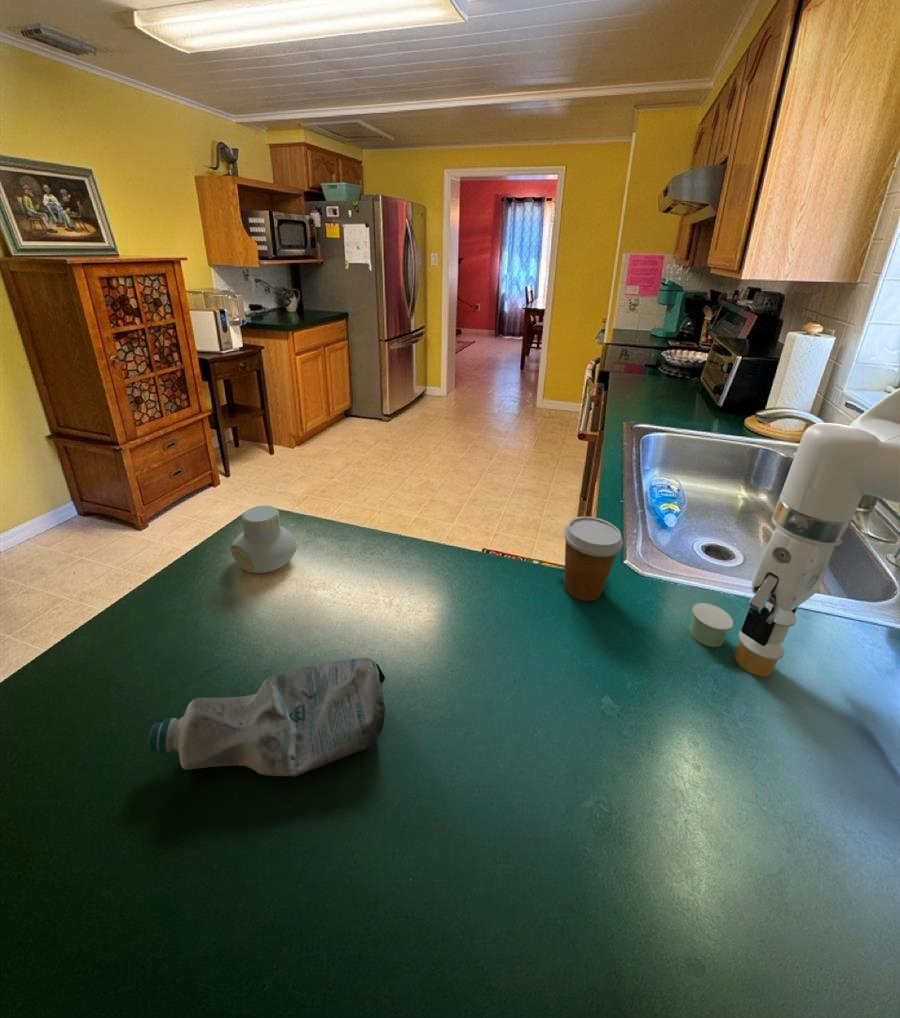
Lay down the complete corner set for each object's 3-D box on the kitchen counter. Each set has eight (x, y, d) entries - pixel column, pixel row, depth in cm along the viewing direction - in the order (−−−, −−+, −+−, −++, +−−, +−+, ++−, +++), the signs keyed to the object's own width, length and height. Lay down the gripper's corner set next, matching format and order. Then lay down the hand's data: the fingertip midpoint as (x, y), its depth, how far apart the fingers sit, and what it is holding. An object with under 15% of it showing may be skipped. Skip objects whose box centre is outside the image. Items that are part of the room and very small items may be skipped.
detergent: (381, 671, 63) (175, 698, 57) (383, 633, 60) (165, 657, 54) (392, 775, 52) (136, 822, 46) (395, 735, 49) (121, 780, 43)
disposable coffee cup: (553, 600, 79) (564, 540, 74) (555, 567, 87) (565, 511, 83) (612, 613, 77) (627, 551, 72) (608, 577, 85) (621, 520, 81)
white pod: (774, 620, 69) (783, 599, 68) (795, 650, 64) (805, 628, 62) (734, 615, 70) (742, 594, 68) (752, 644, 64) (761, 621, 63)
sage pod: (717, 624, 76) (724, 605, 74) (732, 651, 71) (739, 631, 69) (681, 620, 76) (687, 600, 75) (693, 646, 71) (700, 626, 70)
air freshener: (227, 560, 84) (220, 511, 80) (268, 540, 90) (263, 494, 86) (262, 586, 78) (256, 535, 74) (304, 563, 84) (301, 515, 80)
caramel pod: (763, 651, 71) (772, 631, 70) (783, 682, 66) (792, 661, 64) (725, 645, 72) (732, 625, 70) (741, 676, 66) (749, 655, 65)
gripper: (813, 554, 52) (762, 674, 59) (870, 518, 61) (820, 626, 68) (744, 522, 58) (705, 634, 65) (806, 493, 67) (766, 594, 74)
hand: (764, 629), depth 66 cm, fingers closed on white pod, 5 cm apart
